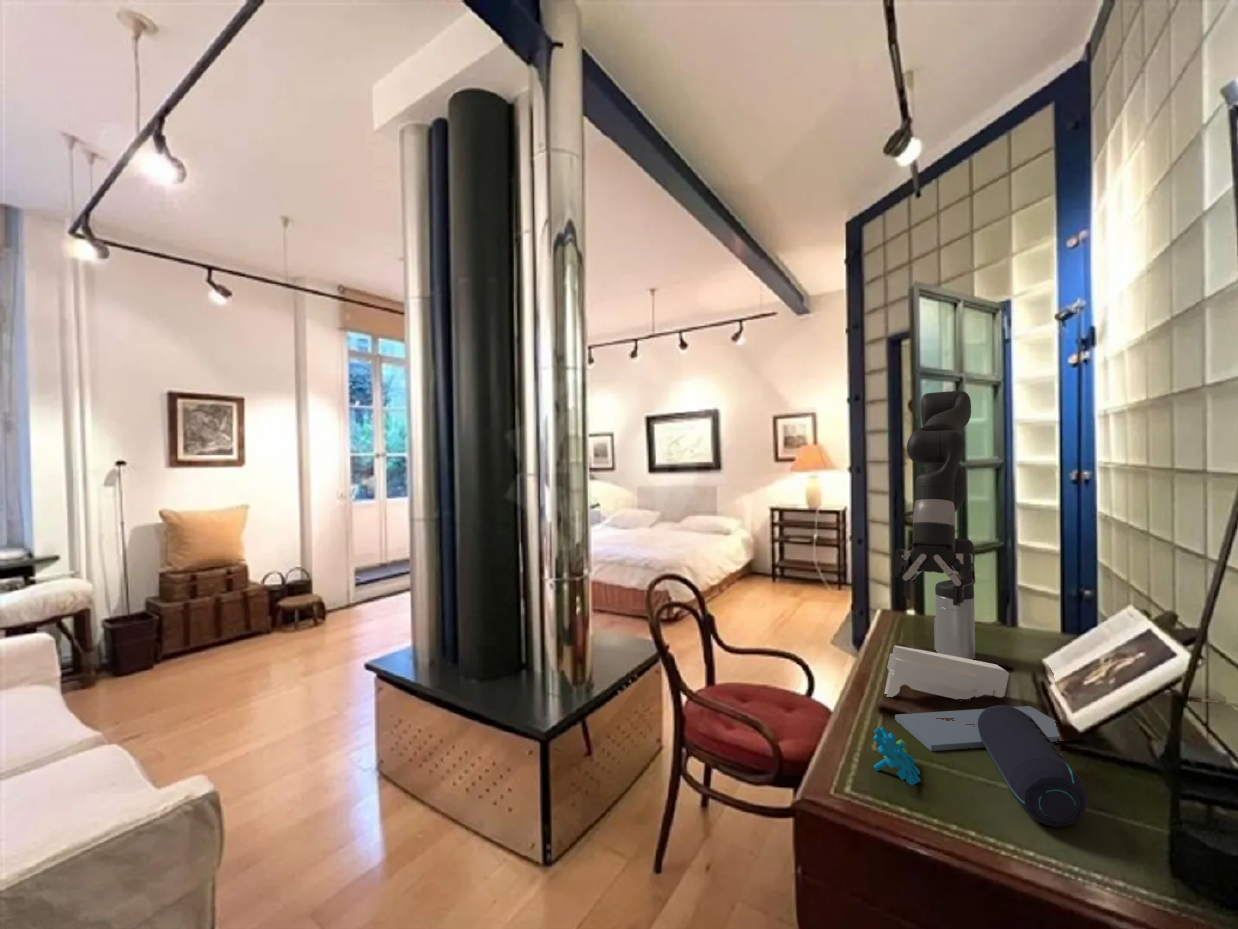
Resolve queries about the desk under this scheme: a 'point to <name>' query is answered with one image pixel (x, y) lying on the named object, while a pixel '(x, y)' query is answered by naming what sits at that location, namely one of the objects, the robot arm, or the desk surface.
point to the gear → (895, 756)
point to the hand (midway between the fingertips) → (932, 602)
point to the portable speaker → (1032, 766)
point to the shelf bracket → (943, 674)
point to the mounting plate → (961, 727)
